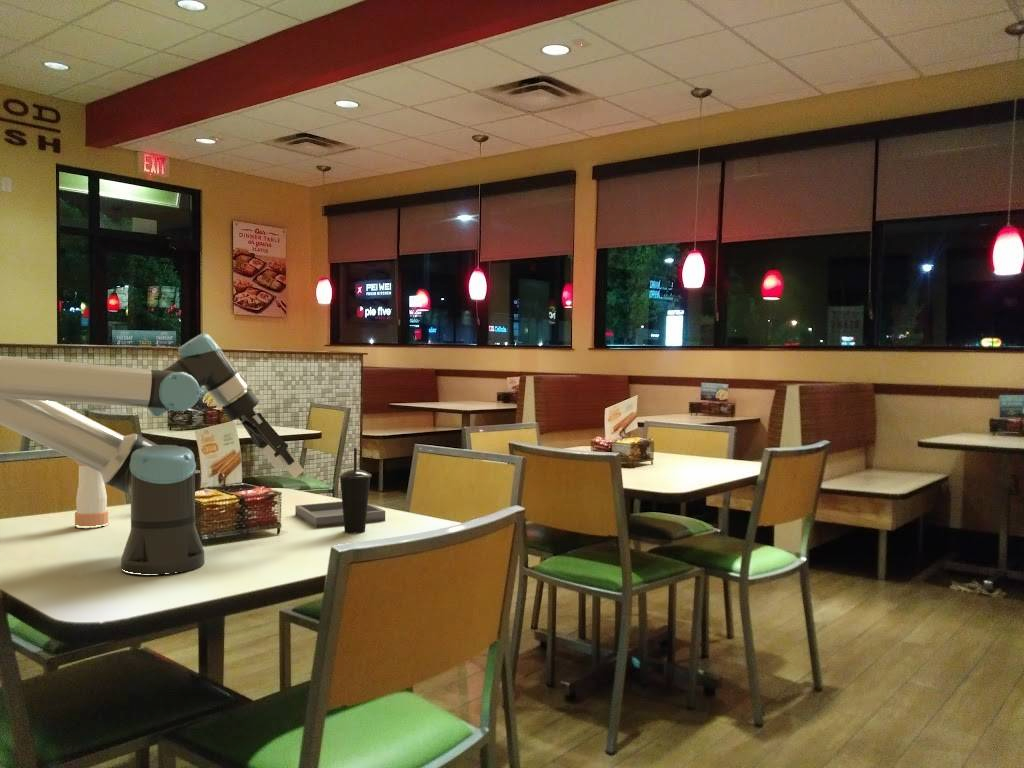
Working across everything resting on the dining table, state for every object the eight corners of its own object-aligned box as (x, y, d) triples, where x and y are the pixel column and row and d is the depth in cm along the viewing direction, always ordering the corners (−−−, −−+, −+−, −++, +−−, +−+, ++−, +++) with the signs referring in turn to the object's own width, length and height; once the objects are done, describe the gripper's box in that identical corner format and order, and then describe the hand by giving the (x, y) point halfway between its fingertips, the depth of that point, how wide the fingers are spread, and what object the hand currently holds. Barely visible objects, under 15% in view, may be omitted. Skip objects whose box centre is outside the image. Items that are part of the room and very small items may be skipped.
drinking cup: (367, 534, 185) (368, 450, 184) (335, 534, 185) (335, 450, 184) (373, 527, 193) (374, 446, 192) (342, 527, 193) (343, 446, 192)
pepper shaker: (68, 526, 190) (68, 448, 190) (98, 521, 197) (97, 445, 196) (84, 530, 186) (84, 450, 186) (114, 525, 193) (114, 447, 192)
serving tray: (316, 527, 192) (316, 517, 192) (295, 514, 207) (295, 505, 207) (385, 520, 201) (385, 510, 201) (360, 508, 217) (360, 499, 217)
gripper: (263, 388, 166) (320, 466, 172) (236, 385, 187) (288, 455, 194) (233, 410, 162) (292, 488, 169) (209, 404, 184) (263, 474, 190)
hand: (290, 470), depth 181 cm, fingers open, 13 cm apart
